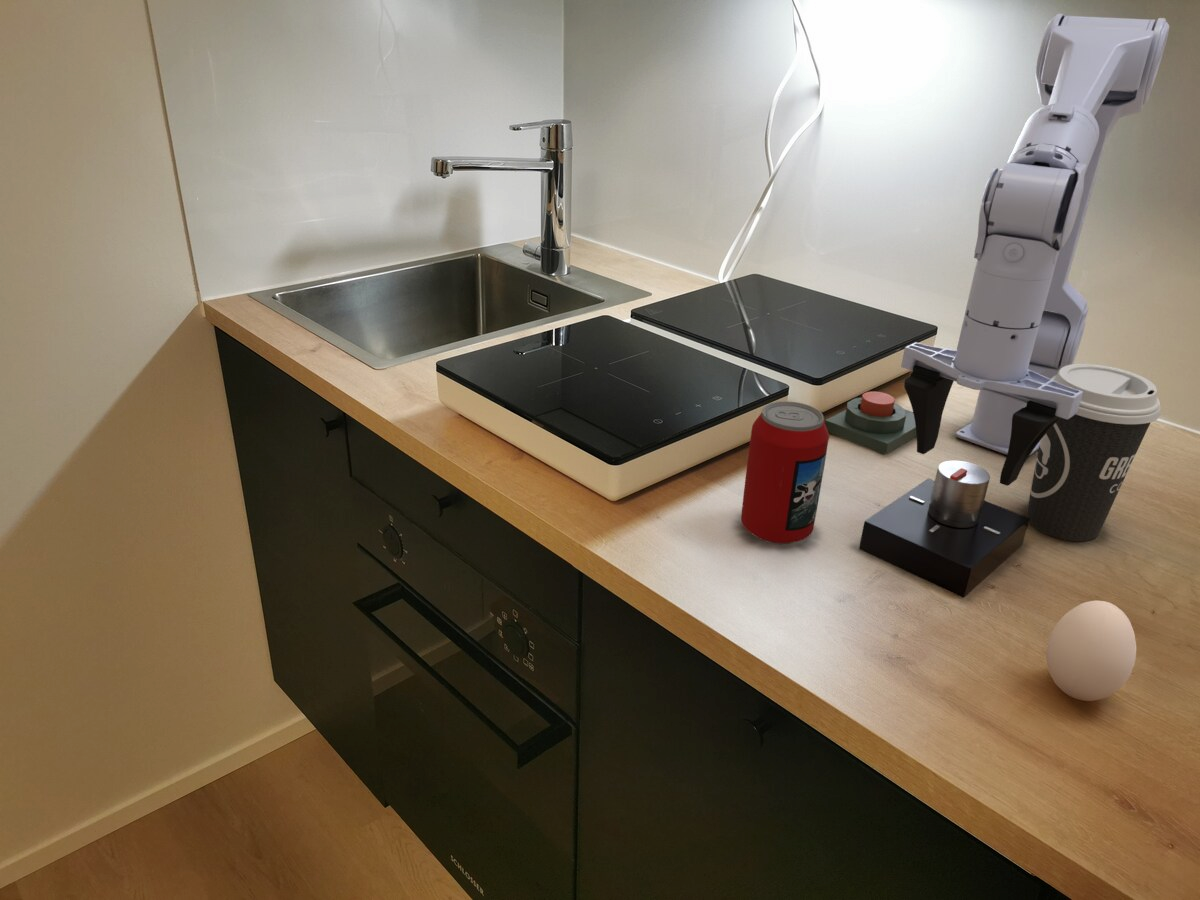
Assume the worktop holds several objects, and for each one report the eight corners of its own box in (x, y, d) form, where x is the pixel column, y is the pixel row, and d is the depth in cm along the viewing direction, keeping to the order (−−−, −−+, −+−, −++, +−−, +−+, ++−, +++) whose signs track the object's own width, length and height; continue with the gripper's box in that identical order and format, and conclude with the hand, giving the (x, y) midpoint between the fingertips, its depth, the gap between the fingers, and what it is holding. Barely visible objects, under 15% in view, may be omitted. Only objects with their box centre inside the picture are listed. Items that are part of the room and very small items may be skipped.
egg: (1129, 696, 66) (1164, 608, 63) (1099, 731, 63) (1134, 641, 59) (1054, 658, 70) (1083, 572, 66) (1022, 690, 66) (1050, 602, 63)
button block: (868, 407, 111) (872, 384, 110) (928, 429, 106) (934, 405, 105) (823, 430, 104) (826, 407, 103) (885, 455, 100) (890, 430, 98)
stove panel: (922, 504, 90) (928, 476, 89) (1022, 545, 84) (1030, 516, 82) (858, 549, 82) (864, 519, 81) (963, 598, 76) (971, 567, 75)
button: (870, 402, 106) (872, 388, 105) (898, 412, 103) (901, 398, 103) (853, 410, 103) (856, 396, 103) (882, 421, 101) (884, 406, 100)
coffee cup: (1066, 559, 82) (1115, 408, 75) (988, 508, 90) (1025, 367, 83) (1140, 539, 86) (1193, 393, 79) (1058, 491, 93) (1100, 355, 87)
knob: (941, 497, 85) (952, 452, 83) (987, 516, 82) (999, 469, 80) (919, 514, 82) (929, 467, 80) (965, 533, 80) (977, 486, 77)
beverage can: (812, 554, 81) (833, 434, 76) (737, 544, 82) (751, 425, 77) (812, 516, 87) (831, 402, 82) (741, 507, 88) (755, 394, 83)
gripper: (896, 305, 76) (869, 450, 82) (1075, 353, 67) (1029, 512, 73) (936, 289, 80) (907, 428, 86) (1108, 333, 71) (1062, 484, 77)
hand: (965, 465), depth 80 cm, fingers open, 7 cm apart
